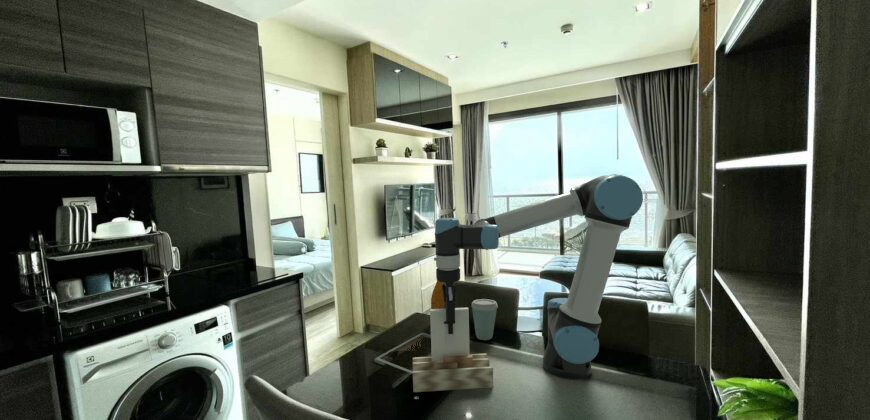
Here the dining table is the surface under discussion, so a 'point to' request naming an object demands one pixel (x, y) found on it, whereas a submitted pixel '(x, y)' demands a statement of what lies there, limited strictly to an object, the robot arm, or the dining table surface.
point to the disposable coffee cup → (484, 317)
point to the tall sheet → (439, 334)
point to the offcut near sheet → (460, 360)
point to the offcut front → (445, 365)
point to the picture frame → (402, 348)
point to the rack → (451, 375)
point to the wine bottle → (437, 296)
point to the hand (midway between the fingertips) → (450, 340)
